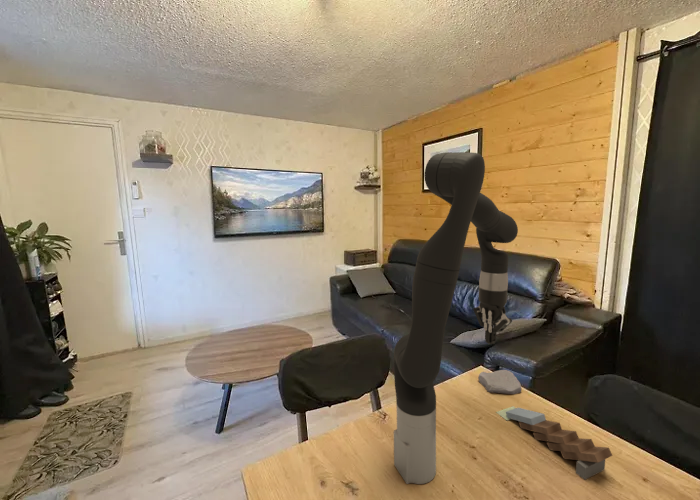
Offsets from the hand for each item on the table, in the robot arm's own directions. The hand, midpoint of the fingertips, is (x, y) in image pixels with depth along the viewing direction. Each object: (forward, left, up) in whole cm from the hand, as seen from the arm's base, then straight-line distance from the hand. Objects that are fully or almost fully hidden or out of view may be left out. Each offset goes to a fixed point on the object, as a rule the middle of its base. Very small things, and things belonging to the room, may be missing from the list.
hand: (490, 342), depth 94 cm
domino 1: (+5, -5, -21) cm, 22 cm away
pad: (+5, -4, -22) cm, 23 cm away
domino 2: (+5, -9, -21) cm, 24 cm away
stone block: (+13, +8, -23) cm, 27 cm away
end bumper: (+5, -26, -22) cm, 35 cm away
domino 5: (+5, -21, -21) cm, 30 cm away
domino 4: (+5, -18, -22) cm, 28 cm away
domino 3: (+5, -14, -22) cm, 26 cm away
